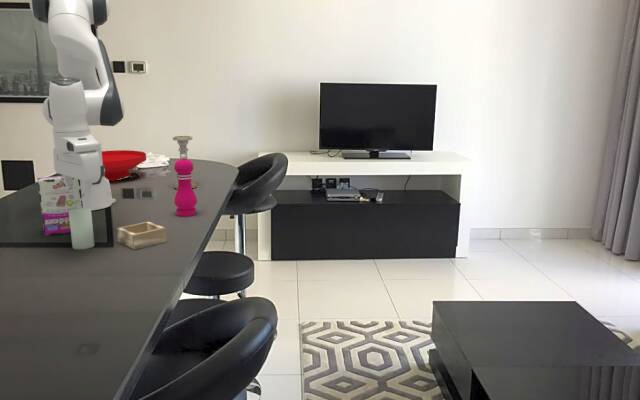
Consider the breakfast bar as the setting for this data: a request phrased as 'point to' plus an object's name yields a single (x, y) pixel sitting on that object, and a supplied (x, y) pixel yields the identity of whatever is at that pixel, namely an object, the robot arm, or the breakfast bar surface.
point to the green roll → (81, 228)
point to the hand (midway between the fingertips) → (79, 193)
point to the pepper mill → (184, 188)
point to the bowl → (121, 162)
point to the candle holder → (183, 151)
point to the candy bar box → (57, 203)
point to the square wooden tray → (141, 235)
